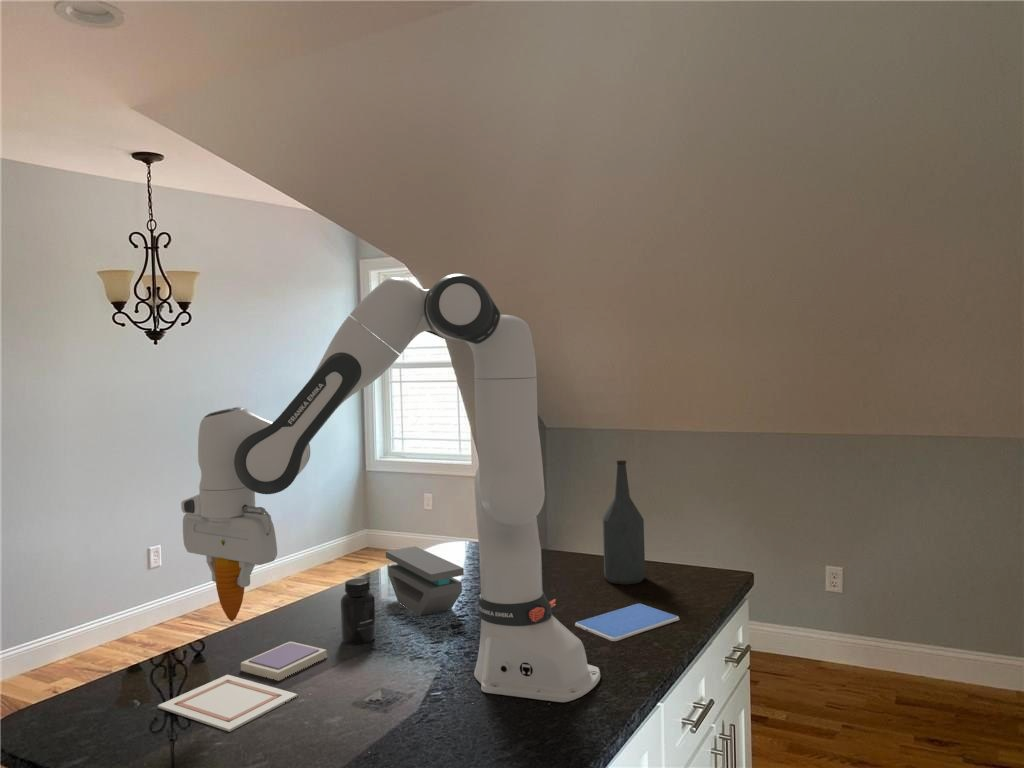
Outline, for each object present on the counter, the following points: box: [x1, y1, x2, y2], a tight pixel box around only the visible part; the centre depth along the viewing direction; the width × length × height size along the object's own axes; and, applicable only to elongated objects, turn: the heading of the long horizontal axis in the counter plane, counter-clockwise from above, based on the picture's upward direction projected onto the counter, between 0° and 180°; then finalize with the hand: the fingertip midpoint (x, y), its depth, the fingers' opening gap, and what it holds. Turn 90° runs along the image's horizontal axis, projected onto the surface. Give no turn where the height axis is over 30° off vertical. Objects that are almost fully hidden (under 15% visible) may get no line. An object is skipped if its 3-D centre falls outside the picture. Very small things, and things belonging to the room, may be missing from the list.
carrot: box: [214, 540, 246, 622], centre depth 132 cm, size 5×5×15 cm
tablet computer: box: [574, 603, 680, 642], centre depth 163 cm, size 19×13×1 cm, turn 125°
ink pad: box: [240, 641, 328, 682], centre depth 146 cm, size 10×12×2 cm
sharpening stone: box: [385, 545, 465, 617], centre depth 178 cm, size 25×8×11 cm, turn 32°
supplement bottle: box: [340, 578, 376, 646], centre depth 157 cm, size 7×7×12 cm
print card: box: [157, 674, 299, 732], centre depth 130 cm, size 18×14×1 cm
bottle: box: [602, 459, 646, 585], centre depth 193 cm, size 10×10×30 cm
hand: (231, 583), depth 132 cm, fingers closed on carrot, 5 cm apart
